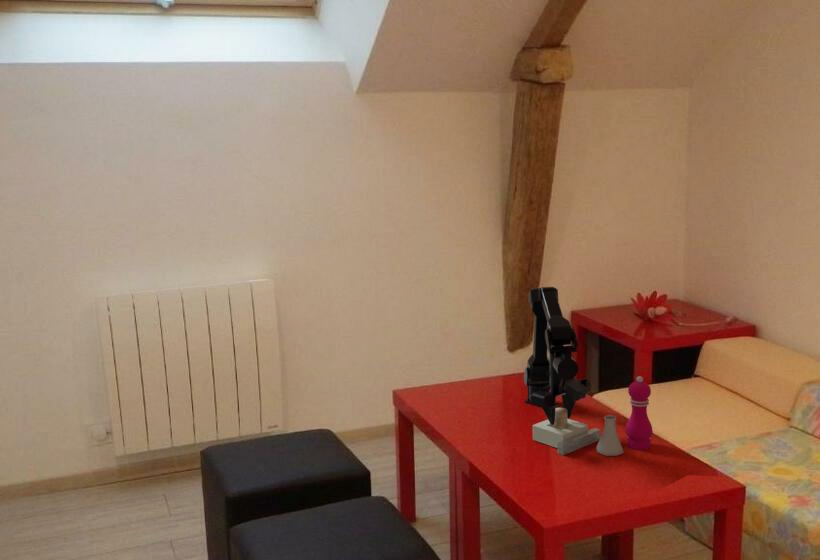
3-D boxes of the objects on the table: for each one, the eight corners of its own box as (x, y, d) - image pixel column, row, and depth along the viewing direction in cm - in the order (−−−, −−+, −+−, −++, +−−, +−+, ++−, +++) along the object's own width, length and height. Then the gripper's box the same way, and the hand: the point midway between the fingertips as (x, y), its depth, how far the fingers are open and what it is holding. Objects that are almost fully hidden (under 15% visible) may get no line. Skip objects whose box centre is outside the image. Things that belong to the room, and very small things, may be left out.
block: (532, 439, 253) (532, 425, 252) (558, 429, 260) (557, 415, 259) (562, 450, 244) (562, 435, 243) (588, 439, 251) (588, 424, 250)
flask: (591, 449, 245) (591, 414, 243) (614, 445, 247) (615, 411, 245) (604, 458, 238) (605, 423, 236) (628, 454, 240) (629, 419, 238)
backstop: (557, 453, 243) (557, 443, 242) (594, 437, 253) (594, 427, 252) (563, 455, 241) (563, 445, 240) (600, 439, 251) (600, 429, 251)
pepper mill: (653, 451, 242) (654, 380, 238) (625, 450, 243) (626, 380, 239) (651, 441, 249) (652, 372, 245) (624, 440, 250) (625, 372, 246)
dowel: (550, 440, 252) (550, 410, 250) (559, 436, 255) (559, 406, 253) (561, 443, 249) (561, 413, 247) (570, 440, 252) (570, 409, 250)
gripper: (560, 382, 236) (560, 437, 239) (604, 366, 248) (603, 420, 251) (529, 373, 244) (529, 427, 247) (572, 359, 256) (572, 410, 259)
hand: (560, 421), depth 251 cm, fingers open, 6 cm apart
